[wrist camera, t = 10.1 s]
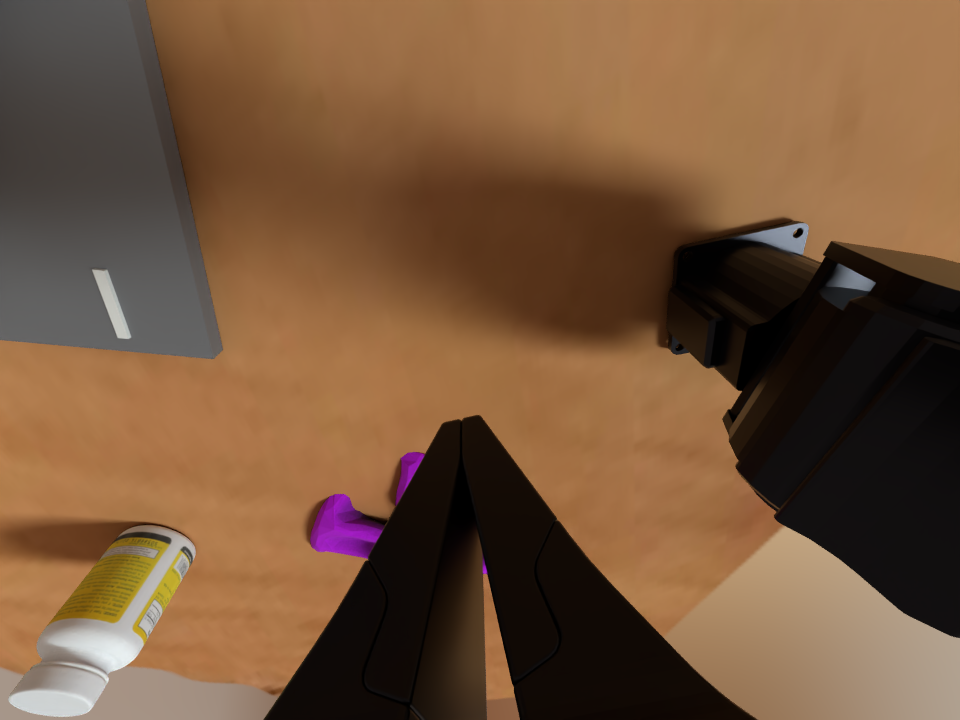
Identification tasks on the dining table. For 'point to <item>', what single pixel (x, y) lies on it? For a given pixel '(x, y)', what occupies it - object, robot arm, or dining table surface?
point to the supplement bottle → (104, 621)
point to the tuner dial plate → (94, 187)
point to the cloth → (356, 519)
